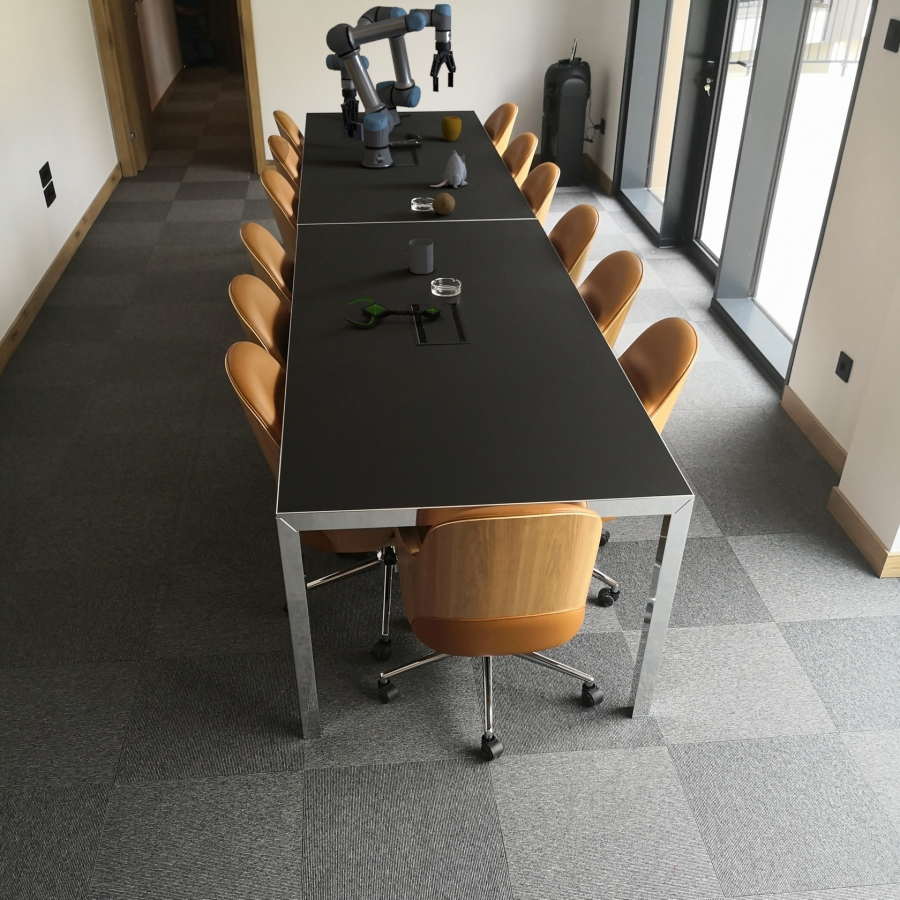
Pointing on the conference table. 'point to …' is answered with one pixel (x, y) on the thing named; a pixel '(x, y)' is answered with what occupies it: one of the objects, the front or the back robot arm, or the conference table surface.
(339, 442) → the conference table surface
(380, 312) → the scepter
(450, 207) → the potato
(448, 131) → the apple
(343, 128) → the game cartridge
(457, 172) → the toy
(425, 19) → the front robot arm
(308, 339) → the conference table surface
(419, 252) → the cup
